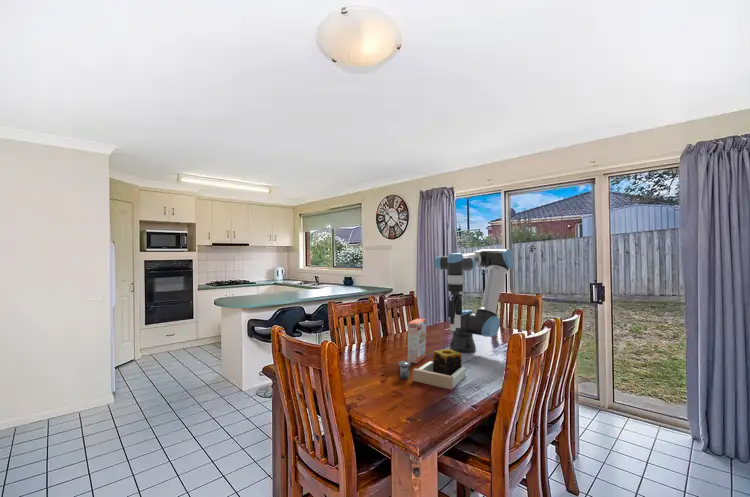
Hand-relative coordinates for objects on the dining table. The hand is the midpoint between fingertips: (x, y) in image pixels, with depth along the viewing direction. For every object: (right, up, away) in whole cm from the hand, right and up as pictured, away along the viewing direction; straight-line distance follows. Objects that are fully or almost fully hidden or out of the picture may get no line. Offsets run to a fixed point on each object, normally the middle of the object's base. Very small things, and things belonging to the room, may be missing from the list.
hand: (455, 328), depth 175 cm
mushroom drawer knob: (-27, -19, -16) cm, 37 cm away
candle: (-6, -19, -9) cm, 22 cm away
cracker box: (-18, -19, +11) cm, 28 cm away
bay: (-10, -19, -16) cm, 27 cm away
